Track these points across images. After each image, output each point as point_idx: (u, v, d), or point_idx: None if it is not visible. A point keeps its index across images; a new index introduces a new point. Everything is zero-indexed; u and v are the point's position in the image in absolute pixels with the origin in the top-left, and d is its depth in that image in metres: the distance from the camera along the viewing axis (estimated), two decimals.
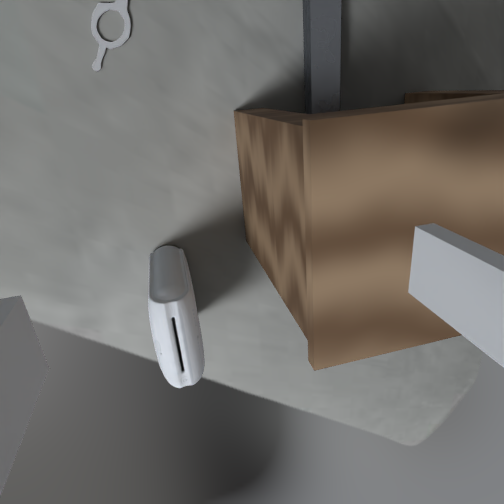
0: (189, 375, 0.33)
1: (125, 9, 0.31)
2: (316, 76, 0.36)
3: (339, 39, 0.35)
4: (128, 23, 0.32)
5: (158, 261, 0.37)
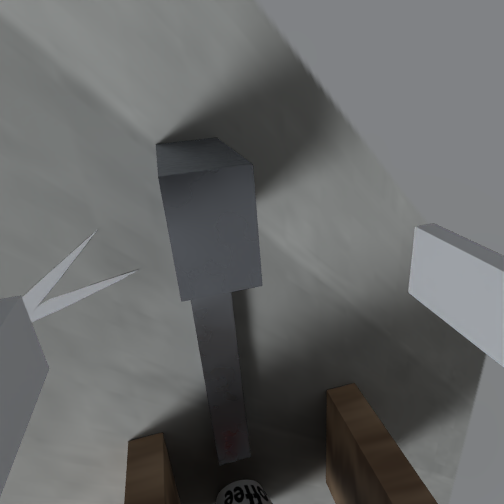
0: None
1: None
2: (217, 414, 0.32)
3: (240, 381, 0.31)
4: None
5: None
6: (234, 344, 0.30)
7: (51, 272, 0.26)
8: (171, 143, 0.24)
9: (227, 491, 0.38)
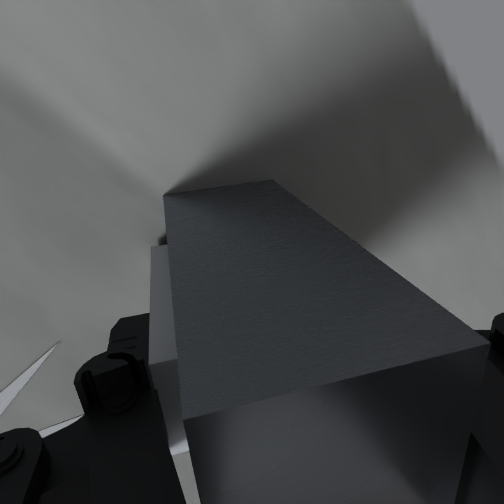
0: None
1: None
2: None
3: None
4: None
5: None
6: None
7: None
8: (192, 194, 0.13)
9: None
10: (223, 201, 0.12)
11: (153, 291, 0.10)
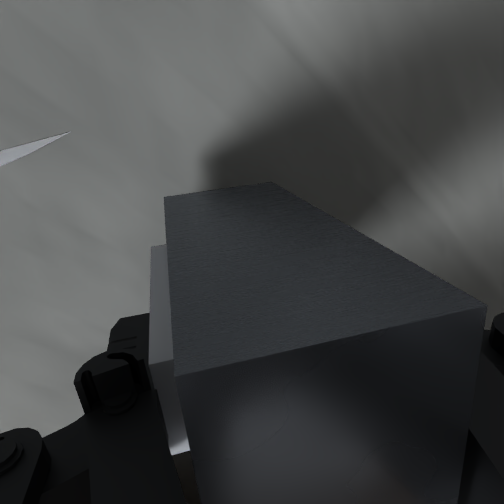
0: None
1: None
2: None
3: None
4: None
5: None
6: None
7: None
8: (192, 195, 0.13)
9: None
10: (222, 200, 0.12)
11: (153, 291, 0.10)
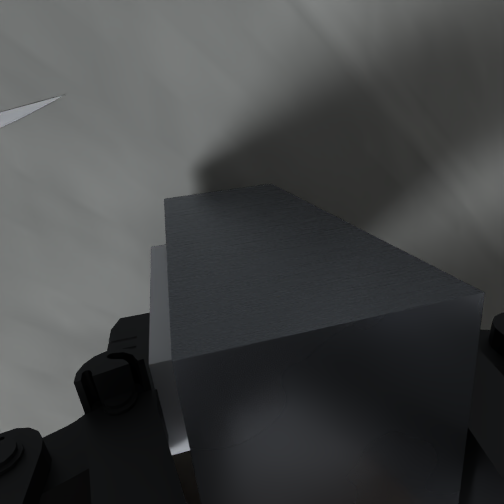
0: None
1: None
2: None
3: None
4: None
5: None
6: None
7: None
8: (192, 196, 0.13)
9: None
10: (222, 200, 0.12)
11: (153, 291, 0.10)
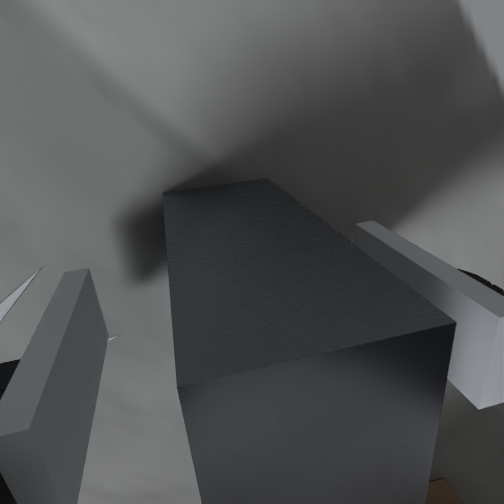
0: None
1: None
2: None
3: None
4: None
5: None
6: None
7: None
8: (190, 192, 0.13)
9: None
10: (220, 199, 0.12)
11: (38, 332, 0.09)
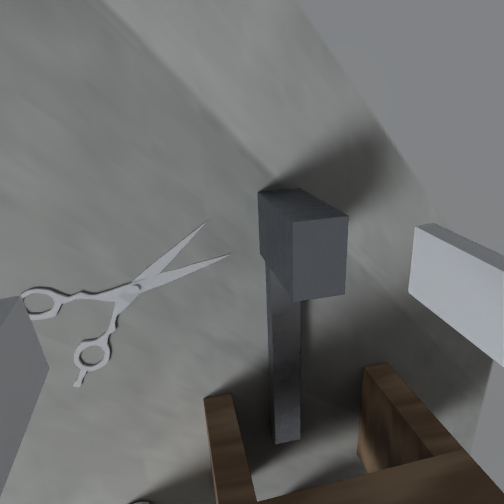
0: None
1: (105, 343, 0.35)
2: (278, 399, 0.41)
3: (299, 373, 0.40)
4: (108, 352, 0.36)
5: None
6: (298, 342, 0.38)
7: (170, 251, 0.34)
8: (269, 192, 0.34)
9: None
10: (283, 194, 0.32)
11: None
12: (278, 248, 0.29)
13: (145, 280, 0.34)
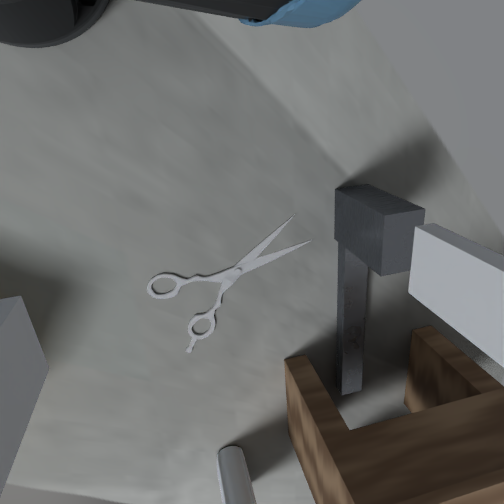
0: None
1: (212, 316, 0.44)
2: (346, 358, 0.49)
3: (363, 335, 0.48)
4: (213, 323, 0.44)
5: (227, 471, 0.49)
6: (364, 310, 0.47)
7: (265, 240, 0.42)
8: (344, 188, 0.41)
9: None
10: (358, 190, 0.40)
11: None
12: (363, 235, 0.37)
13: (245, 264, 0.42)
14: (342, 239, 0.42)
